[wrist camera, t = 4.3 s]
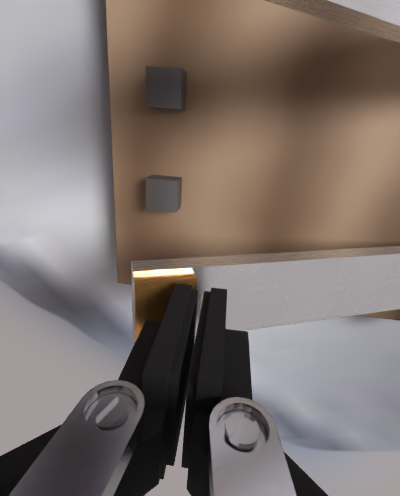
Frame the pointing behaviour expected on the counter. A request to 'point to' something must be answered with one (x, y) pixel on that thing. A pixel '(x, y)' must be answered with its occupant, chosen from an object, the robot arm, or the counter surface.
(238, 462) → the robot arm
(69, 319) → the counter surface
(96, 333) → the counter surface
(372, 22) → the strap
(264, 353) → the counter surface
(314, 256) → the strap
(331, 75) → the latch board
